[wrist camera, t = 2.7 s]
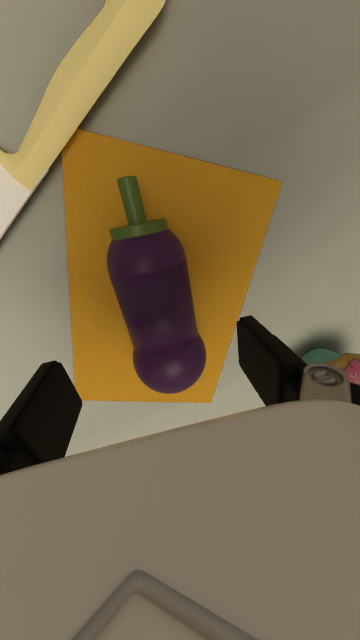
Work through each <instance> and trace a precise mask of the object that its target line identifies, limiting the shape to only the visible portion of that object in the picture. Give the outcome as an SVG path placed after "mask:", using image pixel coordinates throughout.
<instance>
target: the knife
mask: <svg viewBox="0 0 360 640" xmlns="http://www.w3.org/2000/svg"><path fill="white" fill-rule="evenodd" d="M165 1H166V0H106V1H105V4H104V6H103V8H102V10H101V12H100V13H99V14H98V15H97V17H96V18H95V19H94V20H93V22H92V23H91V24H90V25H89V26H88V28H87V29H86V30H85V31H84V32H83V34H82V35H81V36H80V37H79V39H78V40H77V41H76V43H75V44H74V45H73V47H72V48H71V49H70V51H69V52H68V54H67V55H66V56H65V58H64V59H63V60H62V62H61V63H60V64H59V66H58V68H57V70H56V72H55V73H54V75H53V77H52V79H51V81H50V83H49V85H48V87H47V89H46V92H45V94H44V96H43V99H42V101H41V103H40V106H39V108H38V110H37V113H36V115H35V117H34V119H33V121H32V123H31V125H30V127H29V130H28V132H27V134H26V136H25V138H24V140H23V142H22V144H21V146H20V149H19V151H18V152H17V153H15V154H10V153H6V152H4V151H3V150H2V149H0V239H1V238H2V236H3V235H4V233H5V232H6V230H7V229H8V228H9V226H10V225H11V223H12V222H13V220H14V219H15V218H16V216H17V215H18V213H19V212H20V210H21V209H22V208H23V206H24V205H25V203H26V202H27V200H28V199H29V198H30V196H31V195H32V193H33V192H34V190H35V189H36V187H37V186H38V185H39V183H40V182H41V181H42V179H43V178H44V176H45V175H46V174H47V172H48V171H49V170H48V169H49V167H50V166H51V165H52V163H53V162H54V160H55V159H56V157H57V156H58V155H59V153H60V152H61V150H62V149H63V147H64V146H65V145H66V143H67V142H68V140H69V139H70V137H71V136H72V135H73V133H74V132H75V130H76V129H77V127H78V126H79V125H80V123H81V122H82V120H83V119H84V117H85V116H86V115H87V113H88V112H89V110H90V109H91V107H92V106H93V105H94V103H95V102H96V100H97V99H98V98H99V96H100V95H101V93H102V92H103V90H104V89H105V88H106V86H107V85H108V83H109V82H110V81H111V79H112V78H113V76H114V75H115V73H116V72H117V71H118V69H119V68H120V66H121V65H122V63H123V62H124V61H125V59H126V58H127V56H128V55H129V54H130V52H131V51H132V49H133V48H134V47H135V45H136V44H137V43H138V41H139V40H140V39H141V37H142V36H143V34H144V33H145V32H146V30H147V29H148V28H149V26H150V25H151V23H152V22H153V21H154V19H155V18H156V16H157V15H158V14H159V12H160V11H161V9H162V8H163V6H164V3H165Z"/></svg>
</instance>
